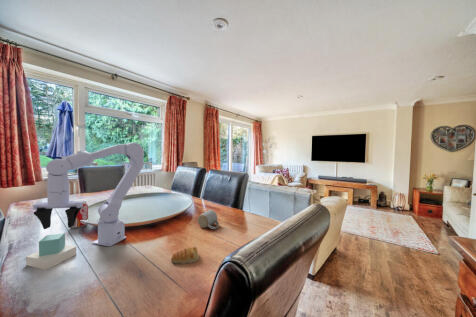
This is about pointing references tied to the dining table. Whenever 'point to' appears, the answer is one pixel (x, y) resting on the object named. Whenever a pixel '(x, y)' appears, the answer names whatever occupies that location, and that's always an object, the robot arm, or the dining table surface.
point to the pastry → (186, 256)
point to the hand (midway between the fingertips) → (59, 227)
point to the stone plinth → (50, 258)
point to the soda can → (81, 216)
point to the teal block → (51, 244)
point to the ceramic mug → (208, 219)
